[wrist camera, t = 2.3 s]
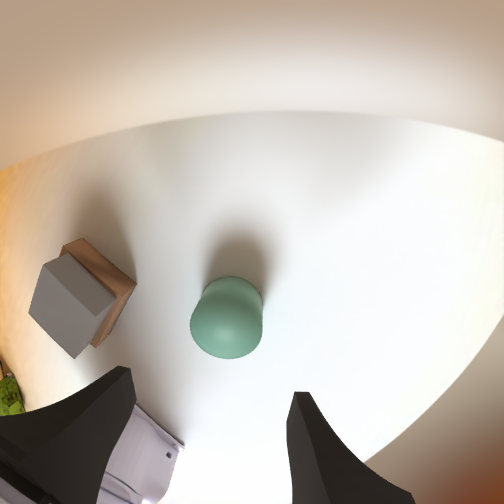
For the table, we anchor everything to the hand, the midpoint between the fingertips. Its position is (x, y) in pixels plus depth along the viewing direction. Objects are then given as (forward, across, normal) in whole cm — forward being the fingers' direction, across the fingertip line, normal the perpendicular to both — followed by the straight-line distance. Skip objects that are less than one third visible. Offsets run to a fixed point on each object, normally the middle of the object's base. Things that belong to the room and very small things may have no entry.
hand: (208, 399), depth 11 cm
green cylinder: (+10, 0, 0) cm, 10 cm away
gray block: (+7, +11, 0) cm, 13 cm away
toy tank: (+10, +31, +20) cm, 38 cm away
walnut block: (+10, +12, 0) cm, 15 cm away
